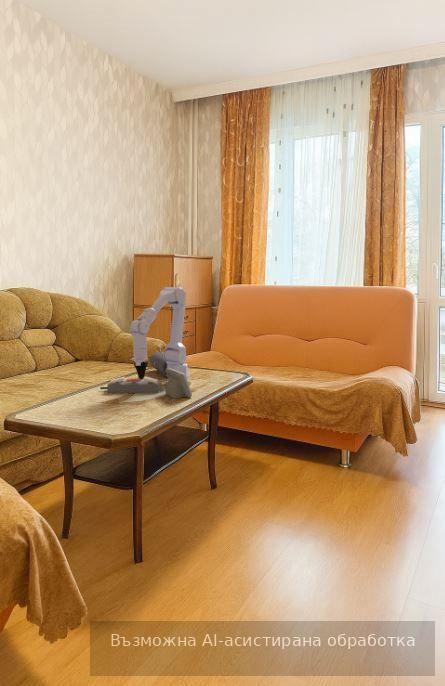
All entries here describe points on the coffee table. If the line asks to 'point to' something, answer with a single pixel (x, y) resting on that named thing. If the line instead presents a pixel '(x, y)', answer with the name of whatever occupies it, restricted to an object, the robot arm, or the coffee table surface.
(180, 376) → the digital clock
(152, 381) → the block
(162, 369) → the bluetooth speaker
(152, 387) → the power strip
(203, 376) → the coffee table surface
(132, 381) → the plate
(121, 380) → the rocker
